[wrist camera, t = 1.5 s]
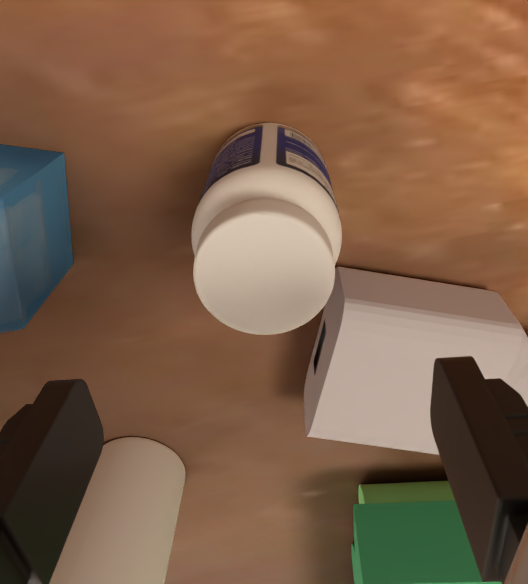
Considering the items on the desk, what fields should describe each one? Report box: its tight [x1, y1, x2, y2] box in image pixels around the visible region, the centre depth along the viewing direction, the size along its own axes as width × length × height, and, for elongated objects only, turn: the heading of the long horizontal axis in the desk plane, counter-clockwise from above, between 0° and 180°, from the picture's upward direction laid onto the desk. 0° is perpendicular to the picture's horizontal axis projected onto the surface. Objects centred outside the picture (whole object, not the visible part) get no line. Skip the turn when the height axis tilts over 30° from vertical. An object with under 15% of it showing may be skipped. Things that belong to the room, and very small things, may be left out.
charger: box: [304, 267, 528, 455], centre depth 28 cm, size 5×9×15 cm
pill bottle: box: [191, 123, 342, 335], centre depth 20 cm, size 6×6×10 cm
